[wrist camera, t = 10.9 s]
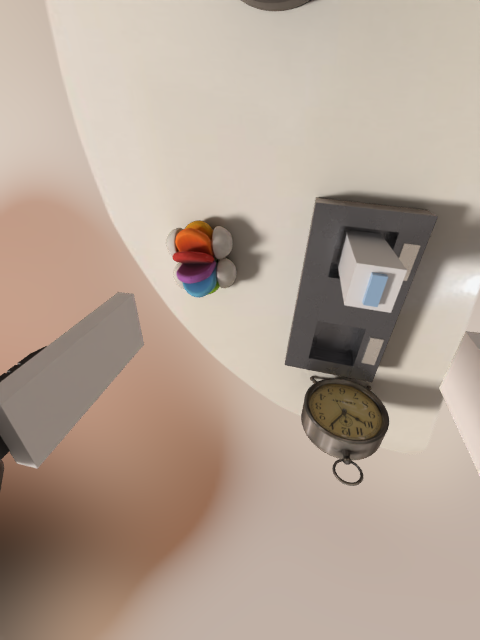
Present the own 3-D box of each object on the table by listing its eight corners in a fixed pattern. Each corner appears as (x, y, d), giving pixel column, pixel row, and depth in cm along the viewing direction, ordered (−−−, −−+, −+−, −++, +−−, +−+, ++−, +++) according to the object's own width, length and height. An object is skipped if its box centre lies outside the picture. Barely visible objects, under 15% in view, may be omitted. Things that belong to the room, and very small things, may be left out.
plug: (345, 229, 35) (357, 265, 25) (381, 233, 35) (409, 272, 24) (337, 262, 37) (344, 308, 27) (370, 266, 37) (392, 316, 26)
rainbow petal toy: (232, 215, 38) (215, 229, 32) (240, 286, 43) (227, 310, 37) (171, 220, 40) (144, 233, 34) (185, 287, 45) (163, 309, 39)
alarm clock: (380, 380, 45) (408, 482, 31) (371, 406, 48) (392, 510, 34) (306, 367, 47) (301, 459, 33) (301, 393, 50) (295, 487, 36)
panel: (316, 197, 35) (315, 202, 32) (426, 209, 33) (438, 216, 30) (286, 350, 46) (284, 365, 43) (368, 366, 44) (372, 383, 41)
